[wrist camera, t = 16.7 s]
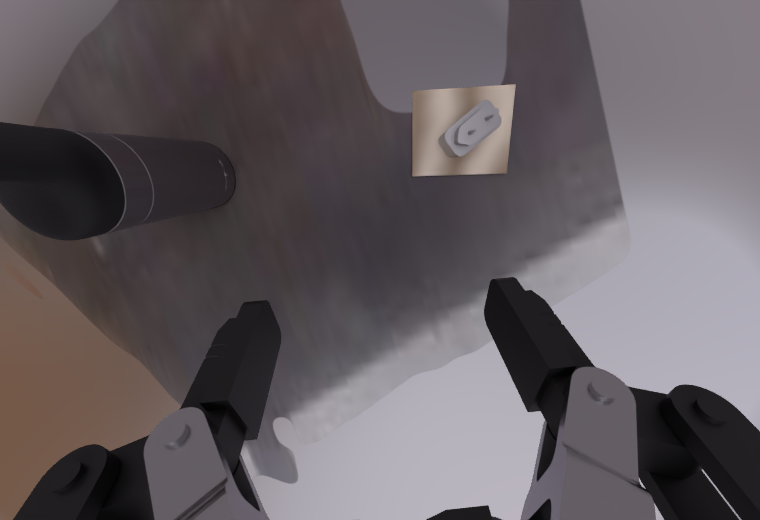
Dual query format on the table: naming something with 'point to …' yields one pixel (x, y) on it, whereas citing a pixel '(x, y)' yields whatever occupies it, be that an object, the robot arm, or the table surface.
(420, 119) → the birch board
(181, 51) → the table surface
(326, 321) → the table surface
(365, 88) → the table surface
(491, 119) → the power adapter
